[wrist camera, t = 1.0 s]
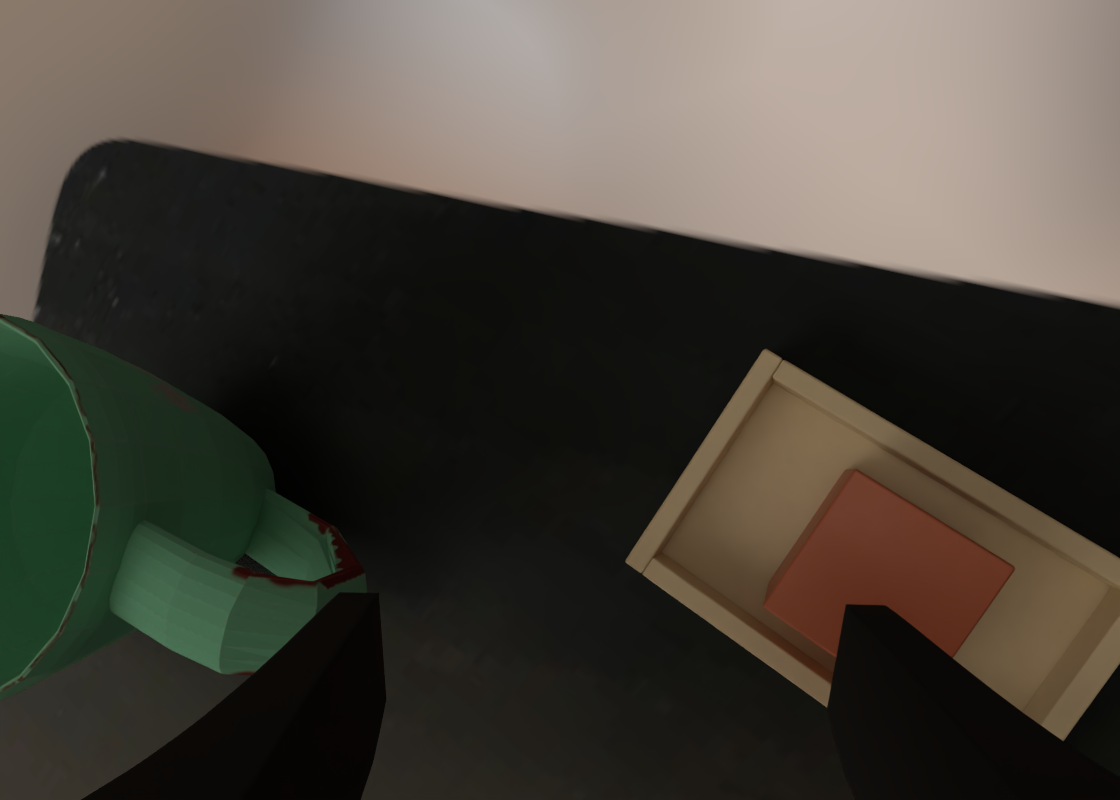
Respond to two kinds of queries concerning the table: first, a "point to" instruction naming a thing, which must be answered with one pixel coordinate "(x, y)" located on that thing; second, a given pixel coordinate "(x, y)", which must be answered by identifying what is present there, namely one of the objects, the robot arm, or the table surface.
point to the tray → (918, 476)
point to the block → (883, 568)
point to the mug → (141, 520)
